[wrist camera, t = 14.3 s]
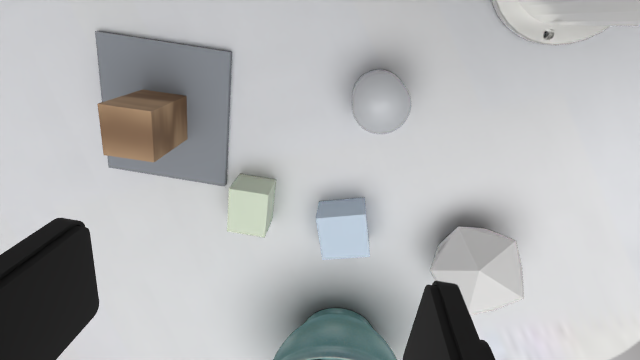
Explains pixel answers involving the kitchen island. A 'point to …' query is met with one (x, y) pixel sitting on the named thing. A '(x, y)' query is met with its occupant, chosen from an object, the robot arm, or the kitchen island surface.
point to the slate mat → (182, 79)
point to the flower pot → (335, 339)
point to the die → (480, 268)
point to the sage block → (251, 205)
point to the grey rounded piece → (380, 102)
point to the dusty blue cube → (343, 228)
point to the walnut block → (143, 124)
